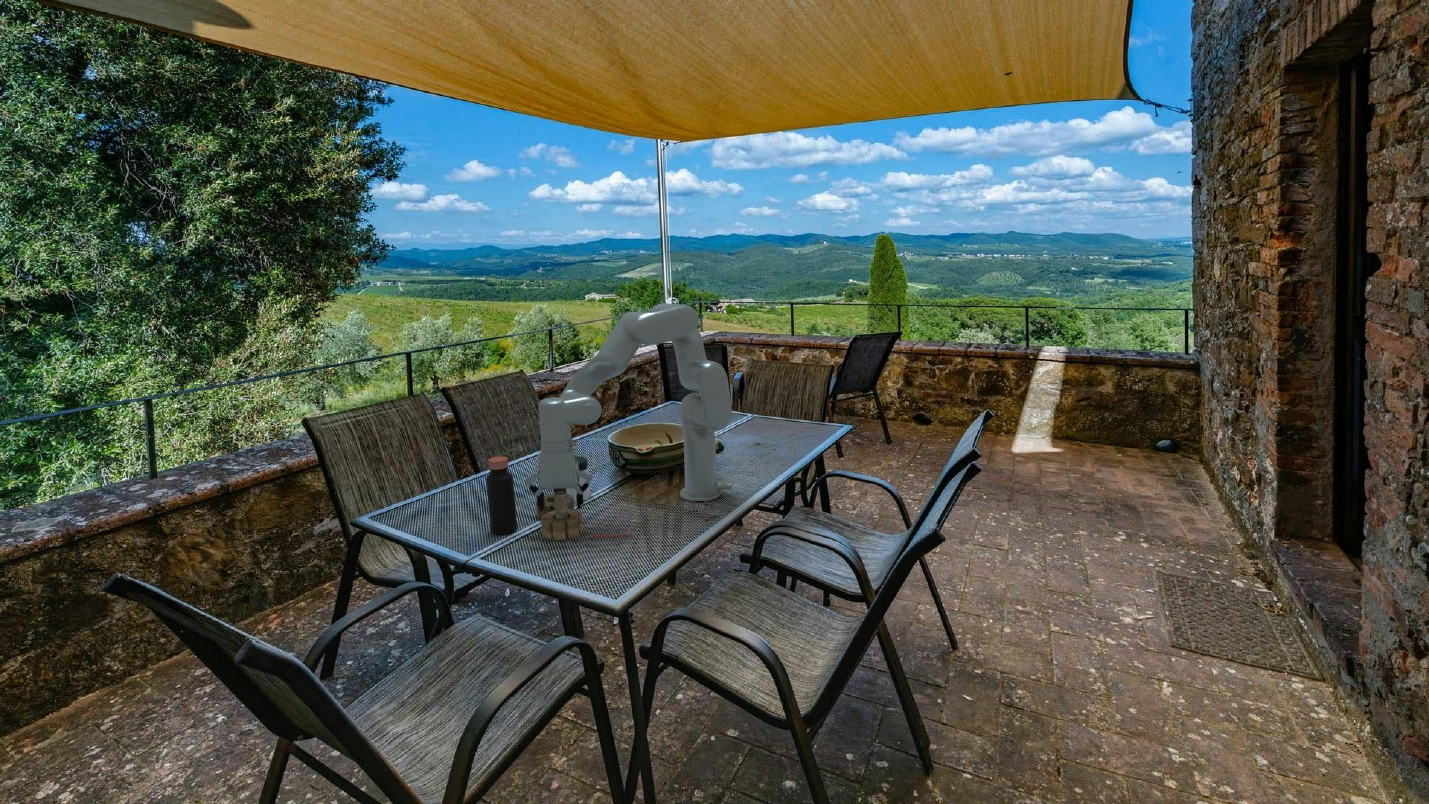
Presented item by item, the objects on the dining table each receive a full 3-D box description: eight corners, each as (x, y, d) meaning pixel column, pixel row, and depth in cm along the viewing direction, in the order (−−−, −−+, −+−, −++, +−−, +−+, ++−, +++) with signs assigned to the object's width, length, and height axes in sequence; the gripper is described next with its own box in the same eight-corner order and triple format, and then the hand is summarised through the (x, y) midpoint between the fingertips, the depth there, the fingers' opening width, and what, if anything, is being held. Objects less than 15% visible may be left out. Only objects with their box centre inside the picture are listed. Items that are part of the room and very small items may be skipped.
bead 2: (584, 523, 179) (583, 508, 178) (579, 539, 169) (578, 522, 168) (547, 525, 178) (545, 510, 177) (540, 540, 168) (538, 524, 167)
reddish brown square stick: (633, 535, 171) (633, 533, 171) (633, 536, 170) (633, 534, 170) (587, 537, 170) (587, 535, 170) (587, 538, 169) (586, 536, 169)
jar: (567, 505, 193) (564, 466, 191) (557, 497, 200) (554, 459, 197) (595, 498, 198) (593, 460, 195) (584, 491, 205) (582, 454, 202)
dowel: (569, 529, 175) (567, 487, 173) (568, 534, 172) (565, 491, 170) (557, 529, 175) (554, 487, 173) (555, 534, 172) (552, 491, 169)
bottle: (492, 537, 171) (485, 464, 167) (489, 528, 177) (483, 457, 173) (519, 532, 174) (512, 460, 170) (515, 523, 180) (509, 454, 176)
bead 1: (568, 505, 193) (567, 491, 192) (577, 517, 184) (576, 501, 183) (534, 511, 188) (533, 497, 187) (541, 523, 179) (540, 508, 178)
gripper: (591, 440, 173) (595, 501, 176) (525, 442, 172) (530, 504, 175) (588, 448, 165) (592, 512, 169) (519, 450, 164) (524, 514, 168)
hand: (560, 508), depth 172 cm, fingers open, 9 cm apart
